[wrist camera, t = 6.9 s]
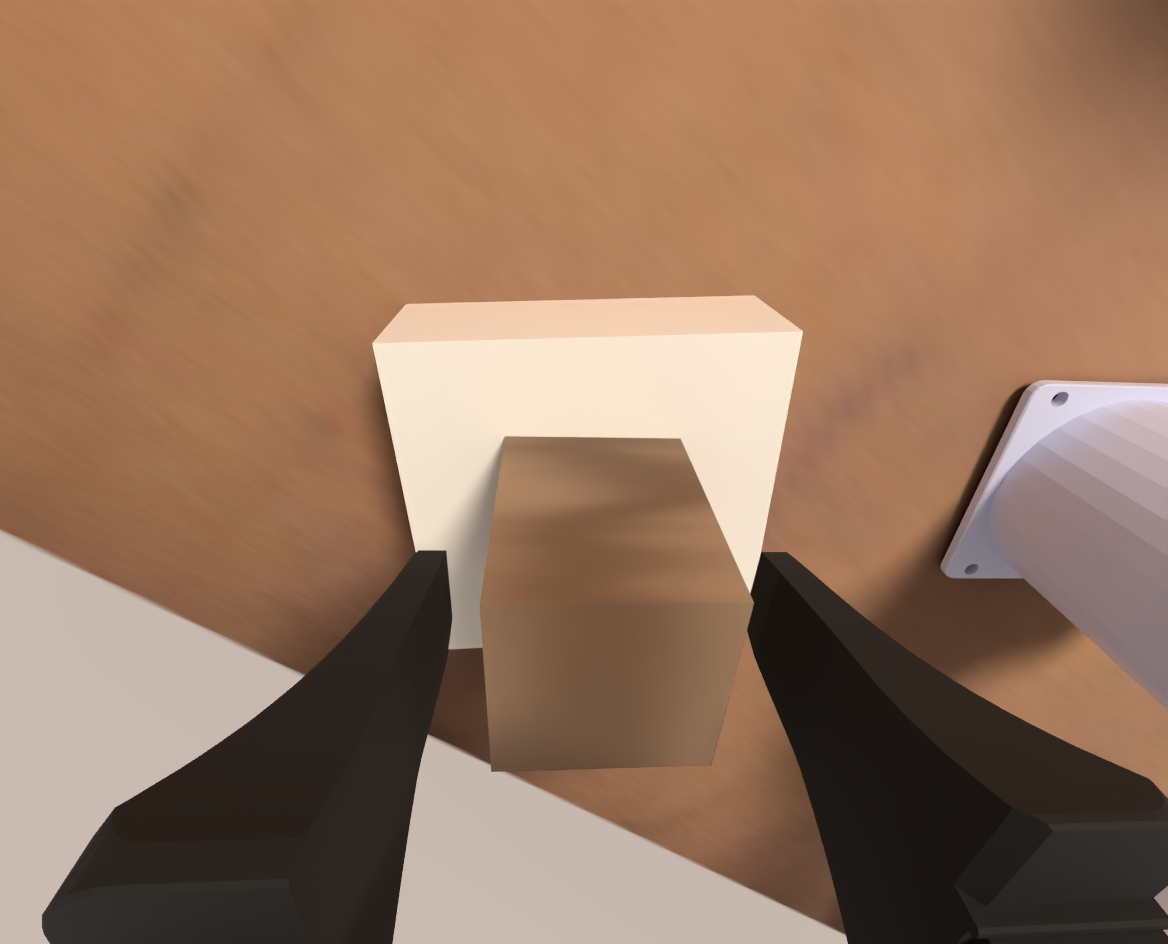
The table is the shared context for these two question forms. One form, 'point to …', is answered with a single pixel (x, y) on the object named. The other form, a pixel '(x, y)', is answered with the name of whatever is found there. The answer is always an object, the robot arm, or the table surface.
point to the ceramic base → (581, 407)
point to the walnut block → (607, 608)
